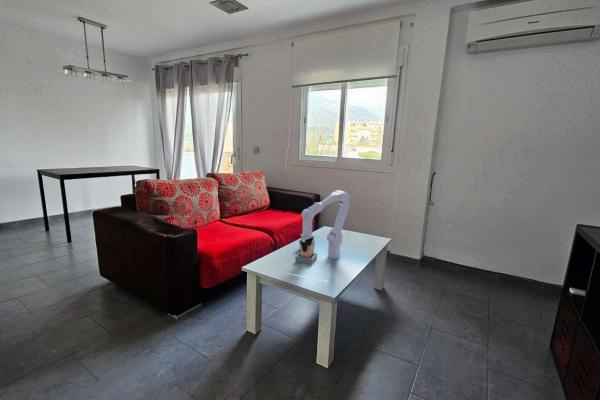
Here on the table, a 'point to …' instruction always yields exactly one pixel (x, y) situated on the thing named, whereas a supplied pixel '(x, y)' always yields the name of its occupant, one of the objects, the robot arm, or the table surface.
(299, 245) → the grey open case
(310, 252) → the coral box
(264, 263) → the table surface
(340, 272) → the table surface
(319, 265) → the table surface
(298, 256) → the tote
